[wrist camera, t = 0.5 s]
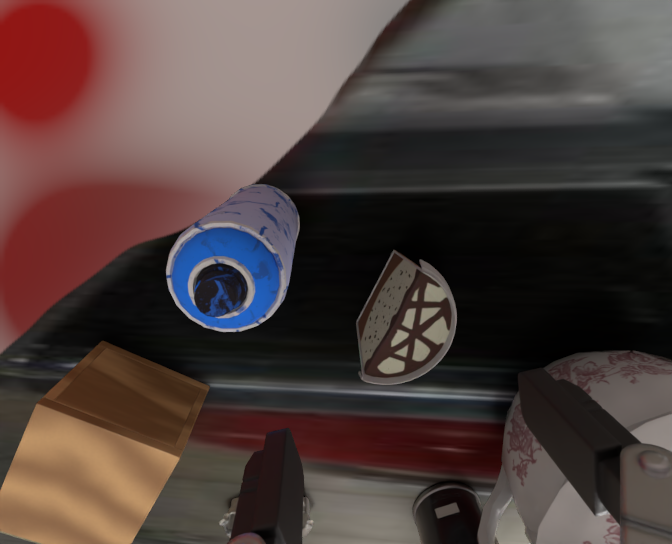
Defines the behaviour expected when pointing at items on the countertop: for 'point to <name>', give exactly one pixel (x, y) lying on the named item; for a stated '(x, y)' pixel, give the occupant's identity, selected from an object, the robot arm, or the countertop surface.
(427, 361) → the brown white half-round block
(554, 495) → the chamber pot
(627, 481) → the robot arm
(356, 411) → the countertop surface
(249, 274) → the aerosol can
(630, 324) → the countertop surface
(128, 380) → the cabinet
